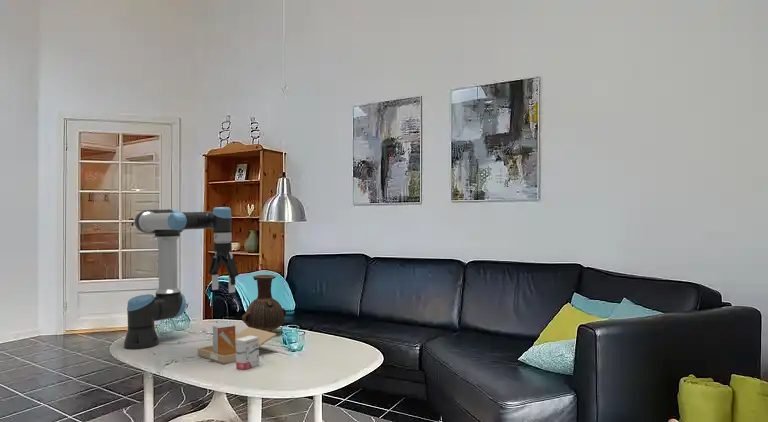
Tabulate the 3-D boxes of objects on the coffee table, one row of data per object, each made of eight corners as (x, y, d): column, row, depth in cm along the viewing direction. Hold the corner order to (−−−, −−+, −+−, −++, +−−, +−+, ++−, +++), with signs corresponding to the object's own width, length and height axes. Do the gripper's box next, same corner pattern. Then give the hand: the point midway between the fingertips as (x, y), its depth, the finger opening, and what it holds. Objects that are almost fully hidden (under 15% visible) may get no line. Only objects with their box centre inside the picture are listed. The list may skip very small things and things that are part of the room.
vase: (255, 341, 267) (254, 279, 267) (232, 335, 280) (232, 276, 280) (295, 332, 285) (295, 274, 285) (272, 327, 298) (271, 272, 298)
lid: (248, 326, 262) (249, 328, 262) (224, 341, 252) (225, 343, 252) (276, 333, 247) (276, 335, 247) (251, 349, 237) (252, 351, 238)
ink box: (244, 370, 219) (243, 340, 219) (235, 368, 222) (235, 339, 222) (259, 364, 227) (259, 336, 226) (251, 363, 229) (250, 335, 229)
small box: (217, 358, 235) (217, 328, 235) (212, 355, 240) (212, 325, 240) (236, 355, 240) (235, 325, 240) (230, 352, 245) (230, 323, 245)
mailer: (197, 355, 242) (197, 348, 242) (225, 349, 252) (224, 342, 252) (223, 364, 228) (223, 356, 228) (251, 357, 237) (251, 350, 237)
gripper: (200, 241, 245) (201, 289, 245) (230, 243, 228) (231, 294, 228) (215, 241, 251) (216, 287, 251) (246, 242, 234) (247, 292, 234)
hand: (223, 291), depth 240 cm, fingers open, 13 cm apart
